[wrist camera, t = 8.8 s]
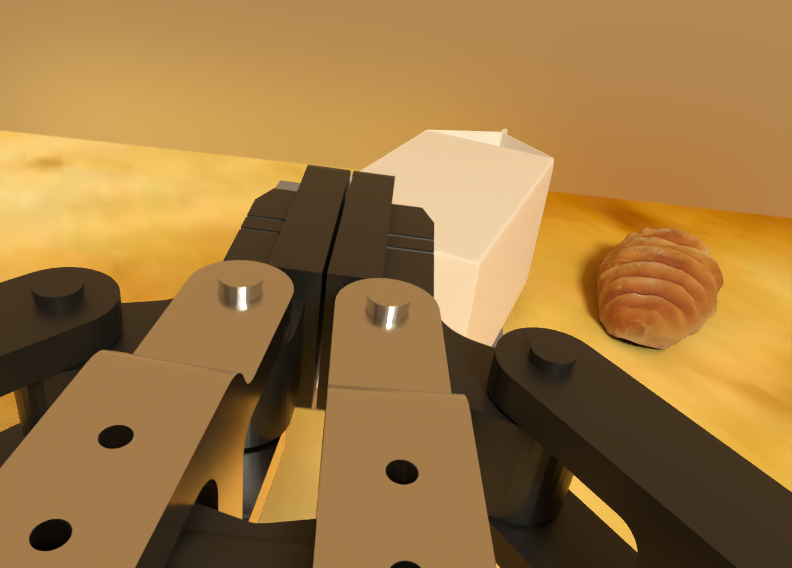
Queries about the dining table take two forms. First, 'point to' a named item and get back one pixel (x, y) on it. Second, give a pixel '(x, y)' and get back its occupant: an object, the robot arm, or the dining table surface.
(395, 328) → the robot arm
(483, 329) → the milk carton
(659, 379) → the dining table surface
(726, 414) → the dining table surface
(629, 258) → the pastry
